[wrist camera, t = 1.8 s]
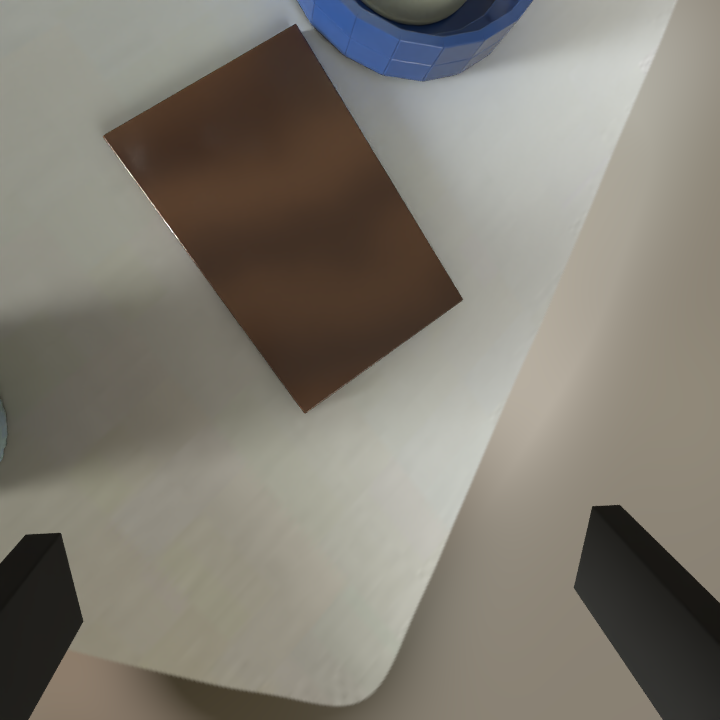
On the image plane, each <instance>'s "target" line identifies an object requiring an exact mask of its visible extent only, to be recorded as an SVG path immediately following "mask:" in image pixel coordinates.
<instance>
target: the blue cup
mask: <svg viewBox="0 0 720 720" xmlns="http://www.w3.org/2000/svg"><path fill="white" fill-rule="evenodd" d="M7 436H8V432H7V423H6V414H5V410H4V408H3V405H2V400H1V399H0V461H2V458H3V454H4V452H3V450H4V447H5V446H6V445H7V442H6V439H7Z"/></svg>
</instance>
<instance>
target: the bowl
mask: <svg viewBox="0 0 720 720" xmlns="http://www.w3.org/2000/svg"><path fill="white" fill-rule="evenodd" d="M297 1H298V3H299V5H300V6H301V8H302V10H303V11H304V13H305V15H306V16H307V18H308V20H309V21H310V23H311V24H312V25H313V26H314V27H315V28H316V29H317V30H318V31H319V32H320V33H321V34H322V35H323V36H324V37H325V38H326V39H327V40H328V41H329V42H330V43H331V44H332V45H333V46H335V47H336V48H337V49H338V50H339V51H340V52H341V53H342V54H343V55H344V56H346V57H348V58H350V59H352V60H354V61H356V62H358V63H360V64H361V65H363V66H365V67H367V68H369V69H371V70H373V71H375V72H377V73H379V74H381V75H383V74H384V76H390V77H397V78H403V79H410V80H416V81H428V80H433V79H438V78H443V77H448V76H453V75H457V74H459V73H461V72H463V71H464V70H466V69H467V68H469V67H471V66H472V65H474V64H475V63H477V62H478V61H480V60H482V59H483V58H485V57H486V56H488V55H489V54H490V53H491V52H492V51H493V50H494V48H495V47H496V46H497V45H498V44H499V42H500V41H501V40H502V39H503V38H504V37H505V35H506V34H507V33H508V32H509V31H510V29H511V28H512V27H513V26H514V25H515V23H516V22H517V21H518V20H519V19H520V17H521V16H522V15H523V13H524V12H525V11H526V9H527V8H528V7H529V5H530V4H531V3H532V2H533V0H466V2H465V3H464V4H463V5H462V6H461V7H460V8H459V9H458V10H457V11H456V12H454V13H453V14H452V15H450V16H448V17H447V18H445V19H443V20H441V21H438V22H435V23H432V24H427V25H407V24H402V23H398V22H395V21H392V20H389V19H387V18H385V17H383V16H381V15H379V14H378V13H376V12H374V11H373V10H372V9H370V8H369V7H368V6H366V5H365V4H364V3H363V2H362V1H361V0H297Z"/></svg>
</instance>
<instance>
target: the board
mask: <svg viewBox="0 0 720 720" xmlns="http://www.w3.org/2000/svg"><path fill="white" fill-rule="evenodd" d="M103 138H104V139H105V140H106V142H107V143H108V145H109V146H110V147H111V149H112V150H113V151H114V153H115V154H116V156H117V157H118V158H119V160H120V161H121V162H122V164H123V165H124V167H125V168H126V169H127V171H128V172H129V173H130V175H131V176H132V178H133V179H134V180H135V182H136V183H137V184H138V186H139V187H140V189H141V190H142V191H143V193H144V194H145V195H146V197H147V198H148V199H149V201H150V202H151V204H152V205H153V206H154V208H155V209H156V210H157V212H158V213H159V215H160V216H161V217H162V219H163V220H164V221H165V223H166V224H167V226H168V227H169V228H170V230H171V231H172V232H173V234H174V235H175V237H176V238H177V239H178V241H179V242H180V243H181V245H182V246H183V248H184V249H185V250H186V252H187V253H188V254H189V256H190V257H191V259H192V260H193V261H194V263H195V264H196V265H197V267H198V268H199V269H200V271H201V272H202V274H203V275H204V276H205V278H206V279H207V280H208V282H209V283H210V285H211V286H212V287H213V289H214V290H215V291H216V293H217V294H218V296H219V297H220V298H221V300H222V301H223V302H224V304H225V305H226V307H227V308H228V309H229V311H230V312H231V313H232V315H233V316H234V318H235V319H236V320H237V322H238V323H239V324H240V326H241V327H242V329H243V330H244V331H245V333H246V334H247V335H248V337H249V338H250V339H251V341H252V342H253V344H254V345H255V346H256V348H257V349H258V350H259V352H260V353H261V355H262V356H263V357H264V359H265V360H266V361H267V363H268V364H269V366H270V367H271V368H272V370H273V371H274V372H275V374H276V375H277V377H278V378H279V379H280V381H281V382H282V383H283V385H284V386H285V388H286V389H287V390H288V392H289V393H290V394H291V396H292V397H293V399H294V400H295V401H296V403H297V404H298V405H299V407H300V408H301V409H302V411H303V412H304V413H307V412H308V411H310V410H311V409H313V408H314V407H315V406H317V405H318V404H319V403H321V402H322V401H324V400H325V399H326V398H328V397H329V396H331V395H332V394H333V393H335V392H336V391H338V390H339V389H340V388H342V387H343V386H344V385H346V384H347V383H349V382H350V381H351V380H353V379H354V378H356V377H357V376H358V375H360V374H361V373H362V372H364V371H365V370H367V369H368V368H369V367H371V366H372V365H374V364H375V363H376V362H378V361H379V360H381V359H382V358H383V357H385V356H386V355H387V354H389V353H390V352H392V351H393V350H394V349H396V348H397V347H399V346H400V345H401V344H403V343H404V342H405V341H407V340H408V339H410V338H411V337H412V336H414V335H415V334H417V333H418V332H419V331H421V330H422V329H424V328H425V327H426V326H428V325H429V324H430V323H432V322H433V321H435V320H436V319H437V318H439V317H440V316H442V315H443V314H444V313H446V312H447V311H448V310H450V309H451V308H453V307H454V306H455V305H457V304H458V303H460V302H461V301H462V300H463V299H462V297H461V295H460V294H459V292H458V290H457V289H456V287H455V285H454V284H453V282H452V281H451V279H450V277H449V276H448V274H447V272H446V271H445V269H444V267H443V266H442V264H441V262H440V261H439V259H438V257H437V256H436V254H435V252H434V251H433V249H432V248H431V246H430V244H429V243H428V241H427V239H426V238H425V236H424V234H423V233H422V231H421V229H420V228H419V226H418V224H417V223H416V221H415V219H414V218H413V216H412V214H411V213H410V211H409V210H408V208H407V206H406V205H405V203H404V201H403V200H402V198H401V196H400V195H399V193H398V191H397V190H396V188H395V186H394V185H393V183H392V181H391V180H390V178H389V177H388V175H387V173H386V172H385V170H384V168H383V167H382V165H381V163H380V162H379V160H378V158H377V157H376V155H375V153H374V152H373V150H372V148H371V147H370V145H369V144H368V142H367V140H366V139H365V137H364V135H363V134H362V132H361V130H360V129H359V127H358V125H357V124H356V122H355V120H354V119H353V117H352V115H351V114H350V112H349V110H348V109H347V107H346V106H345V104H344V102H343V101H342V99H341V97H340V96H339V94H338V92H337V91H336V89H335V87H334V86H333V84H332V82H331V81H330V79H329V77H328V76H327V74H326V73H325V71H324V69H323V68H322V66H321V64H320V63H319V61H318V59H317V58H316V56H315V54H314V53H313V51H312V49H311V48H310V46H309V44H308V43H307V41H306V39H305V38H304V36H303V35H302V33H301V31H300V30H299V28H298V26H297V25H296V24H295V25H293V26H291V27H289V28H288V29H286V30H284V31H283V32H281V33H279V34H277V35H276V36H274V37H272V38H270V39H269V40H267V41H265V42H264V43H262V44H260V45H258V46H257V47H255V48H253V49H251V50H250V51H248V52H246V53H245V54H243V55H241V56H239V57H238V58H236V59H234V60H233V61H231V62H229V63H227V64H226V65H224V66H222V67H220V68H219V69H217V70H215V71H214V72H212V73H210V74H208V75H207V76H205V77H203V78H202V79H200V80H198V81H196V82H195V83H193V84H191V85H189V86H188V87H186V88H184V89H183V90H181V91H179V92H177V93H176V94H174V95H172V96H171V97H169V98H167V99H165V100H164V101H162V102H160V103H158V104H157V105H155V106H153V107H152V108H150V109H148V110H146V111H145V112H143V113H141V114H139V115H138V116H136V117H134V118H133V119H131V120H129V121H127V122H126V123H124V124H122V125H121V126H119V127H117V128H115V129H114V130H112V131H110V132H108V133H107V134H105V135H104V136H103Z"/></svg>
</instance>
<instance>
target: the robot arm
mask: <svg viewBox="0 0 720 720" xmlns="http://www.w3.org/2000/svg"><path fill="white" fill-rule="evenodd" d="M574 589H575V590H576V592H577V593H578V595H579V596H580V598H581V599H582V601H583V602H584V603H585V605H586V607H587V608H588V610H589V611H590V613H591V614H592V616H593V617H594V618H595V620H596V621H597V623H598V624H599V626H600V627H601V629H602V630H603V632H604V633H605V635H606V636H607V638H608V639H609V641H610V642H611V643H612V645H613V646H614V648H615V649H616V651H617V652H618V654H619V655H620V657H621V658H622V660H623V661H624V663H625V664H626V666H627V667H628V669H629V670H630V672H631V673H632V675H633V676H634V678H635V679H636V681H637V682H638V684H639V685H640V687H641V688H642V689H643V691H644V692H645V694H646V695H647V697H648V698H649V700H650V701H651V703H652V704H653V706H654V707H655V708H656V710H657V712H658V713H659V715H660V716H661V717H662V719H663V720H720V603H719V602H718V601H717V600H716V599H715V598H714V597H713V596H712V595H711V594H710V593H709V592H708V591H707V590H706V589H705V588H704V587H703V586H702V585H701V584H700V583H699V582H698V581H697V580H696V579H695V578H694V577H693V576H692V575H691V574H690V573H689V572H688V571H687V570H686V569H684V568H683V567H682V566H681V565H680V564H679V563H678V562H677V561H676V560H675V559H674V558H673V557H672V556H671V555H670V554H669V553H668V552H667V551H666V550H665V549H664V548H663V547H662V546H661V545H660V544H659V543H658V542H657V541H656V540H655V539H654V538H653V537H652V536H651V535H650V534H649V533H648V532H647V531H646V530H644V528H643V527H642V526H641V525H640V524H639V523H638V522H636V521H635V519H634V518H632V516H631V515H630V514H628V512H627V511H625V510H624V509H623V508H622V507H621V506H620V505H610V506H593V507H592V510H591V515H590V519H589V524H588V528H587V532H586V537H585V541H584V545H583V550H582V554H581V559H580V563H579V567H578V572H577V576H576V581H575V585H574ZM82 623H83V618H82V614H81V610H80V606H79V602H78V598H77V595H76V591H75V587H74V583H73V579H72V575H71V571H70V567H69V563H68V559H67V555H66V551H65V547H64V543H63V539H62V535H61V533H49V534H29V535H25V536H24V537H23V538H22V540H21V541H20V542H19V543H18V544H17V545H16V546H15V548H14V549H13V550H12V551H11V552H10V553H9V554H8V555H7V557H6V558H5V559H4V560H3V561H2V562H1V563H0V720H28V719H29V718H30V716H31V714H32V712H33V710H34V709H35V706H36V705H37V703H38V701H39V700H40V698H41V696H42V694H43V692H44V691H45V689H46V687H47V685H48V683H49V682H50V680H51V678H52V676H53V675H54V673H55V671H56V669H57V668H58V666H59V664H60V662H61V660H62V659H63V657H64V655H65V653H66V651H67V650H68V648H69V646H70V644H71V643H72V641H73V639H74V637H75V635H76V634H77V632H78V630H79V628H80V626H81V625H82Z"/></svg>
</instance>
